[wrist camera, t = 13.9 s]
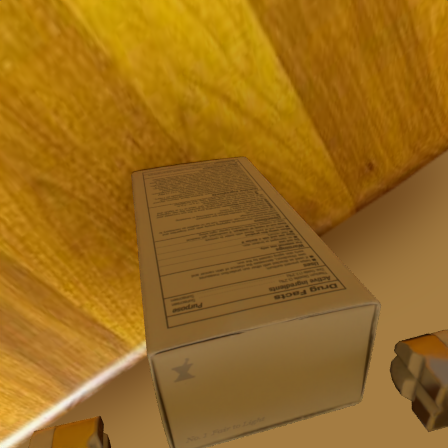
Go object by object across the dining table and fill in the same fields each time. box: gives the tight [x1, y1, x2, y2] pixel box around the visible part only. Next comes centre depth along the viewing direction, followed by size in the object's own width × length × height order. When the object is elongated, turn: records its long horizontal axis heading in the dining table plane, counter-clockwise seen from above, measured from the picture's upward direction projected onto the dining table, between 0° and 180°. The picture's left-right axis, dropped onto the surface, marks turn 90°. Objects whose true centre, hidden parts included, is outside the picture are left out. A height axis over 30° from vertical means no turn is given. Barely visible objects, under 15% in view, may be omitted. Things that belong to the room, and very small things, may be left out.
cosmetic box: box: [132, 157, 381, 448], centre depth 15 cm, size 6×4×12 cm
